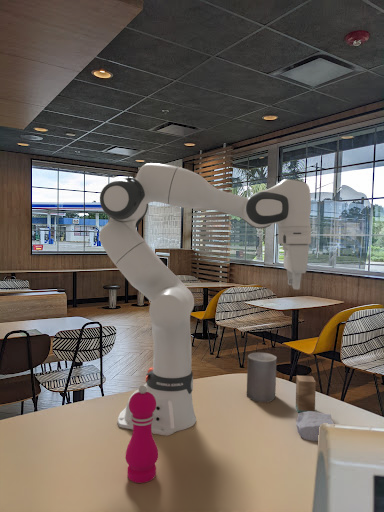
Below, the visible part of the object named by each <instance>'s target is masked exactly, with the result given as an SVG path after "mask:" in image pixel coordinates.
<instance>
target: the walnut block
mask: <svg viewBox="0 0 384 512" xmlns="http://www.w3.org/2000/svg"><path fill="white" fill-rule="evenodd" d="M295 378H296V379H295V380H296V381H295V383H296V384H295V408H296V411H297V413H298V414H299V413H302V412H307V411H314V412H316V390H317V389H316V388H317V387H316V385H317V382H316V380H315V377H313V375H312V376H310V375H296V377H295Z"/></svg>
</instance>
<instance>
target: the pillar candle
mask: <svg viewBox="0 0 384 512" xmlns="http://www.w3.org/2000/svg"><path fill="white" fill-rule="evenodd" d="M246 369H247V371H246V372H247V373H246V397H247V398H248V399H250V400H252V401H255V402H260V403H262V402H263V403H265V402H266V403H267V402H272V401H273V400H274V399H276V395H277V394H276V391H277V390H276V387H277V380H276V379H277V356H276V355H274V354H271V353H268V352H261V351H260V352H252V353H251V352H250V353H249V354H248V355H247V368H246Z"/></svg>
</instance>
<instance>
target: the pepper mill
mask: <svg viewBox="0 0 384 512" xmlns="http://www.w3.org/2000/svg"><path fill="white" fill-rule="evenodd" d="M138 389H139V392H137V393H135V394H134V395H133V396H132V397H131V398H130V397H129V398H130V401H129V409H130V411H131V413H132V415H131V422H132V423H133V429H132V435H131V437H130V440H129V443H128V445H127V446H126V450H125V461H126V463H127V465H128V466H127V478H128V480H130V481H131V482H133V483H137V484H143V483H144V484H145V483H148V482H150V481H152V480H153V479H154V478H156V474H157V465H156V463H157V461H158V459H159V449H158V445H157V443H156V441H155V439H154V436H153V433H152V430H151V425H152V422H153V421H154V418H153V417H154V414H153V412H154V410H155V409H156V400H155V397H154V396H153V395H152V394H151V393H149V392H146V391H147V388H146V387H145V386H143V385H140V386H139V388H138Z"/></svg>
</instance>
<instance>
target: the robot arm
mask: <svg viewBox="0 0 384 512" xmlns="http://www.w3.org/2000/svg"><path fill="white" fill-rule="evenodd" d="M311 196H312V195H311V190H310V186H309V185H308V183H306V182H305V181H303V180H300V179H296V178H295V179H294V178H284V179H282V180H281V181H280V182H278V183H276V184H275V185H273V186H272V187H270V188H268V189H267V188H266V189H264V190H261V191H258V192H257V191H256V193H253V194H252V195H251V196H250V197H245V196H241V195H238V194H235V193H231V192H228V191H224V190H221V189H218V188H217V187H215V186H213V185H212V184H211V183H209V181H207V180H206V178H204V177H203V176H202V175H200V174H199V173H196V172H194V171H192V170H190V169H187V168H183V167H179V166H177V165H171V164H165V163H155V162H154V163H153V162H150V163H145V164H143V165H141V167H140V168H139V169H138V172H137V174H136V177H135V178H134V177H133V176H129V177H126V178H122V179H117V180H113V181H111V182H109V183H107V184H106V185H105V186H104V187H103V188H102V190H101V192H100V195H99V204H100V207H101V209H102V211H103V212H104V213H105V214H106V216H108V218H109V219H108V221H107V222H106V224H104V225H103V226H102V228H101V230H100V232H99V234H98V236H99V237H98V239H99V242H100V244H101V246H102V247H103V249H104V251H105V253H106V254H107V256H108V257H109V259H110V260H111V262H112V263H113V264H114V266H116V268H117V269H118V270H119V272H120V273H121V275H123V277H124V278H125V279H126V280H127V281H128V283H129V284H130V285H131V286H132V287H133V288H135V289H136V290H137V291H139V293H141V294H142V295H143V296H145V298H146V299H147V300H149V301H150V304H149V311H148V313H149V318H150V319H149V320H150V327H151V328H150V329H151V336H152V343H153V344H152V345H153V348H152V349H153V352H152V353H153V354H152V355H153V357H152V359H153V362H152V364H153V366H152V367H149V368H148V370H147V373H146V376H145V384H143V385H142V386H145V387H146V388H147V391H146V392H149V393H151V394H152V395H153V396H154V397H155V400H156V409H155V410H154V412H153V414H154V417H153V418H154V421H153V422H152V425H151V430H152V434H155V435H160V436H161V435H162V436H170V435H172V434H174V433H175V432H176V433H177V432H179V431H183V430H187V429H189V428H190V427H192V426H194V425H195V423H196V421H197V417H196V414H195V413H196V412H195V409H194V404H193V389H194V376H193V373H194V372H193V370H192V347H193V346H192V339H191V338H192V336H191V314H192V312H193V310H194V307H195V299H194V295H193V293H192V291H191V290H190V289H189V288H188V287H187V286H186V285H185V284H184V282H182V280H181V279H180V278H179V277H178V276H177V275H176V274H175V273H174V272H173V271H172V270H171V269H170V268H169V267H168V266H167V265H165V263H164V262H163V261H162V259H160V257H159V256H158V255H157V254H156V253H155V251H154V250H153V249H152V247H150V245H149V244H148V243H147V241H145V240H144V238H143V237H142V236H141V235H140V233H139V232H138V230H137V228H138V226H139V225H140V224H141V222H142V220H143V219H144V217H145V216H146V214H147V212H148V209H149V203H153V202H154V203H161V204H165V205H169V206H173V207H176V208H183V209H195V210H197V209H199V210H212V211H216V212H220V213H222V214H223V213H224V214H226V215H230V216H233V217H237V218H240V219H241V220H243V221H244V222H245V223H246V224H248V226H250V227H252V228H254V229H261V230H263V229H266V228H268V227H270V226H271V225H273V224H276V225H277V226H278V229H277V237H278V238H277V244H278V245H282V250H283V268H284V269H285V270H286V275H287V284H288V285H289V286H292V289H294V290H300V289H301V281H302V274H306V272H307V270H308V269H307V268H308V263H309V251H310V249H309V246H310V245H311V244H312V233H311V232H312V231H311V230H312V229H311V228H312V227H311V226H312V225H311V221H310V216H311V213H312V199H311ZM137 392H139V388H138V389H137V390H135V391H134V392H132V393H131V395H130V396H129V398H128V401H127V403H126V406H125V408H123V409H122V411H120V413H119V415H118V417H117V425H118V427H119V428H122V429H127V430H133V423H132V422H131V415H132V413H131V411H130V409H129V401H130V398H131V397H132V396H133V395H134V394H135V393H137Z"/></svg>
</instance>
